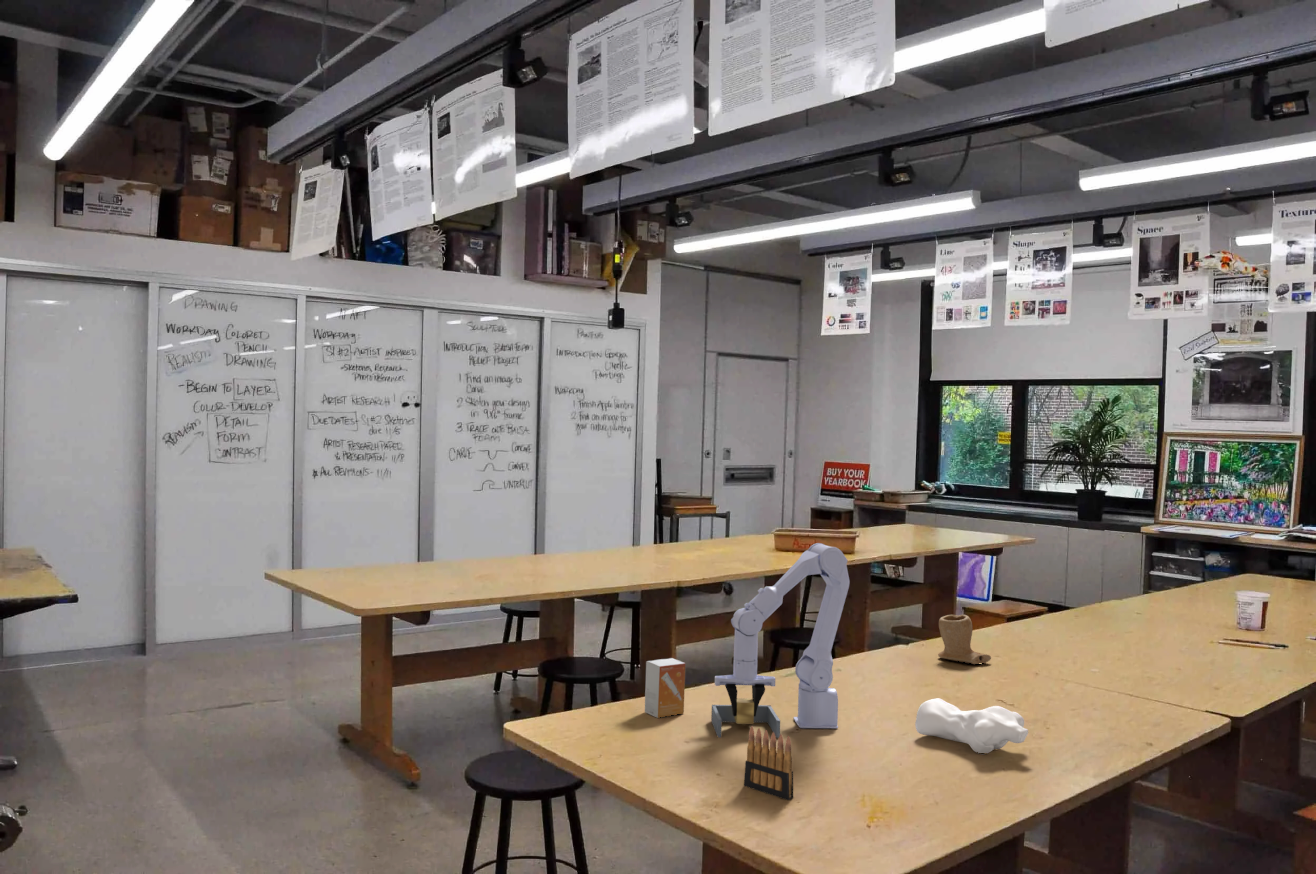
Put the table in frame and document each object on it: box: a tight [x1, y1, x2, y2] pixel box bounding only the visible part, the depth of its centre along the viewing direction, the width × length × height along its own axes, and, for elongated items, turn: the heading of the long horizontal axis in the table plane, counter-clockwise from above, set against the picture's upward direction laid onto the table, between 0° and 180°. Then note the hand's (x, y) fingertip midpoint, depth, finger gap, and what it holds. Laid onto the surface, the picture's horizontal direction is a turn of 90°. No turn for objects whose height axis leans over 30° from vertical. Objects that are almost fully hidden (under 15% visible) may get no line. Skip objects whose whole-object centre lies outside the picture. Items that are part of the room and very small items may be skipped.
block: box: [735, 697, 755, 725], centre depth 231 cm, size 4×4×5 cm
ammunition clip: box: [743, 725, 794, 801], centre depth 189 cm, size 11×2×12 cm, turn 48°
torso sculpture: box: [914, 697, 1029, 754], centre depth 221 cm, size 18×10×25 cm
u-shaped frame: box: [710, 704, 781, 739], centre depth 230 cm, size 15×13×4 cm
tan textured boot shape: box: [937, 614, 992, 665], centre depth 308 cm, size 15×12×15 cm
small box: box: [644, 657, 686, 719], centre depth 241 cm, size 8×6×13 cm
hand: (744, 715), depth 231 cm, fingers closed on block, 4 cm apart
